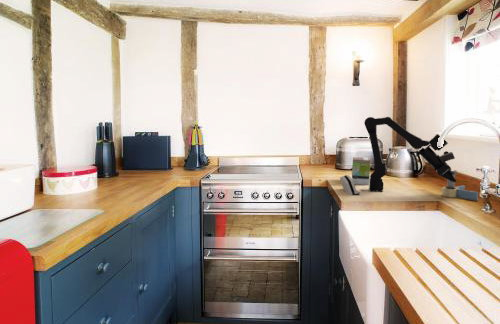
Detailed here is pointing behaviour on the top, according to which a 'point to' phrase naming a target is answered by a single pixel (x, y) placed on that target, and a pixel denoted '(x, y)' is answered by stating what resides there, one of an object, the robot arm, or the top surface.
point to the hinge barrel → (460, 193)
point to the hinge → (348, 185)
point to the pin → (449, 183)
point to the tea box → (361, 170)
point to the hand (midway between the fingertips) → (454, 180)
